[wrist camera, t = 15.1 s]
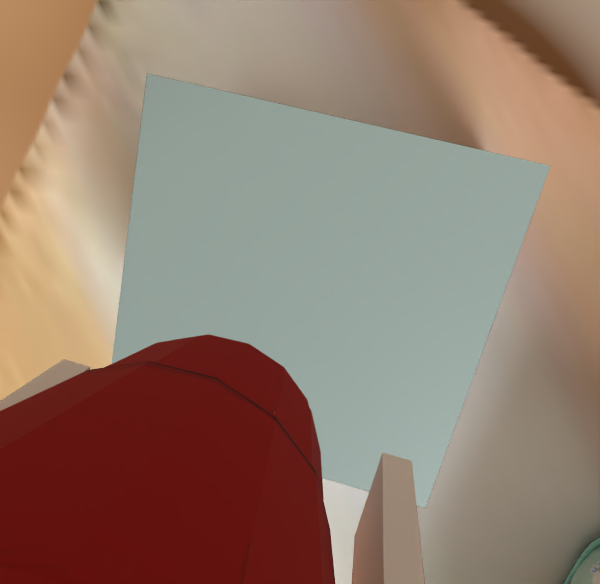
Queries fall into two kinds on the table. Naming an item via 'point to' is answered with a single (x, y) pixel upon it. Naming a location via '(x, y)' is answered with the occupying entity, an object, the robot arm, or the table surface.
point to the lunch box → (587, 566)
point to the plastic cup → (165, 474)
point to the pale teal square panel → (325, 261)
